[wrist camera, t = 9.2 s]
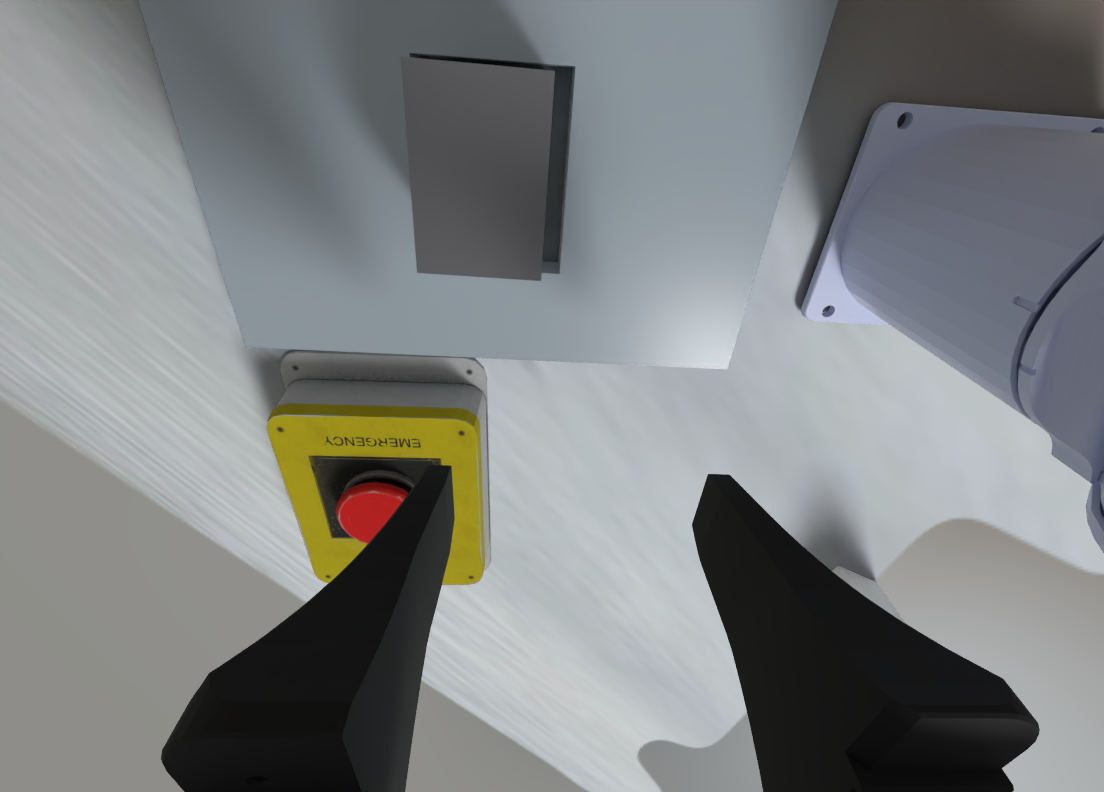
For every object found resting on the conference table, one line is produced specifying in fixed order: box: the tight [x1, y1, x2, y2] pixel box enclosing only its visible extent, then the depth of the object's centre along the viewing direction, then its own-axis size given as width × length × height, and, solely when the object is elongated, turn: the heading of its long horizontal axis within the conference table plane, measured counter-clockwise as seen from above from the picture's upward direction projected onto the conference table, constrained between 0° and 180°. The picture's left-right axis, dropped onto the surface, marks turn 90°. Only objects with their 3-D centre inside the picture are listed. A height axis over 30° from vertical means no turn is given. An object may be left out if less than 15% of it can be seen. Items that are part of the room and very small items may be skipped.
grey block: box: [401, 57, 555, 281], centre depth 15 cm, size 4×5×6 cm
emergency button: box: [267, 350, 491, 585], centre depth 24 cm, size 9×4×15 cm
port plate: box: [138, 0, 839, 369], centre depth 17 cm, size 20×14×2 cm
